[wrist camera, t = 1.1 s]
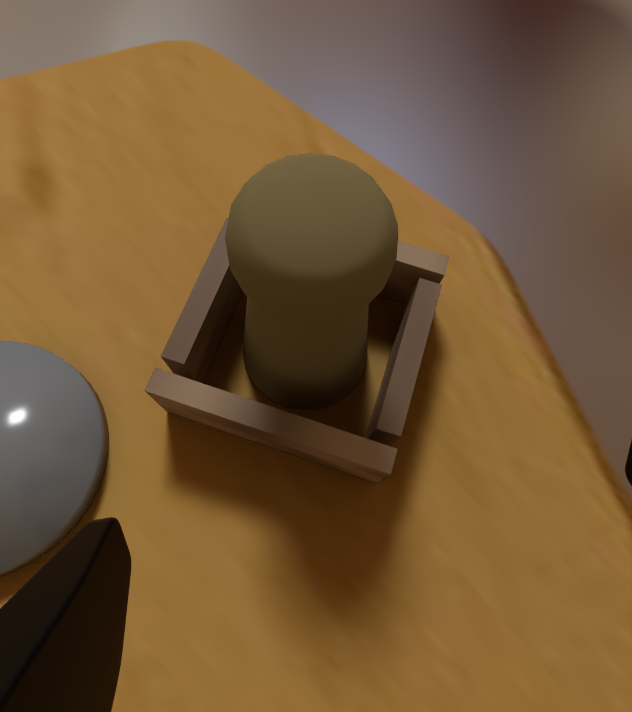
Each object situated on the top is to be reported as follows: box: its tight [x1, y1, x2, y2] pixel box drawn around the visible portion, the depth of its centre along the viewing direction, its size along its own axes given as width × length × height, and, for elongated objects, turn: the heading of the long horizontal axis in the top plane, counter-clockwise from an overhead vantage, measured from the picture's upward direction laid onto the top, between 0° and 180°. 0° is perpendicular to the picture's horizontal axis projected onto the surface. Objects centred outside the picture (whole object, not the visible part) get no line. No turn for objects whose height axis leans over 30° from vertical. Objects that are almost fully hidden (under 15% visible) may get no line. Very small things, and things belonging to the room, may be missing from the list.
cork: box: [225, 153, 398, 410], centre depth 18 cm, size 6×6×11 cm
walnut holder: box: [145, 218, 449, 483], centre depth 22 cm, size 10×10×4 cm
